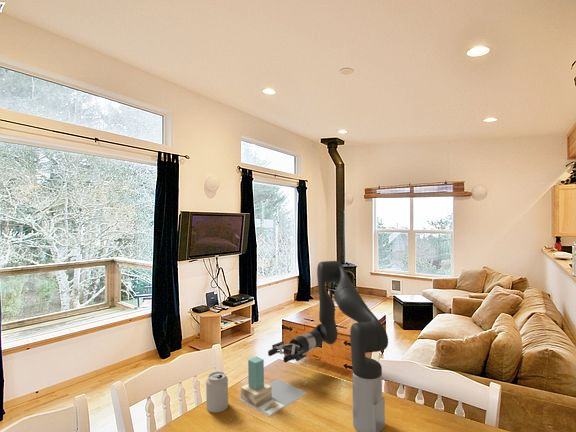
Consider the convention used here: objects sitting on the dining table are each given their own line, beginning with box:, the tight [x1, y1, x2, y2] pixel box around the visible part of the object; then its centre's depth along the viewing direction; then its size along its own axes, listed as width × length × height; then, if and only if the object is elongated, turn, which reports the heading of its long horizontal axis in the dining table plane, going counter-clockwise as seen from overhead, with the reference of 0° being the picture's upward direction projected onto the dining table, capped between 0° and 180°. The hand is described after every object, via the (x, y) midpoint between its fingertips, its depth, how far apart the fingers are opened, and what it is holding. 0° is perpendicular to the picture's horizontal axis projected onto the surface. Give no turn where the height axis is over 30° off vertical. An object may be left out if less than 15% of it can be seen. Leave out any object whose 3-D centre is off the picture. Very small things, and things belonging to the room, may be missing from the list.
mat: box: [238, 378, 308, 418], centre depth 125 cm, size 16×20×1 cm
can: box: [205, 371, 229, 414], centre depth 119 cm, size 8×8×12 cm
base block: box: [240, 382, 272, 406], centre depth 124 cm, size 8×8×4 cm
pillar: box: [247, 356, 265, 391], centre depth 124 cm, size 4×4×10 cm
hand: (276, 356), depth 132 cm, fingers open, 8 cm apart
